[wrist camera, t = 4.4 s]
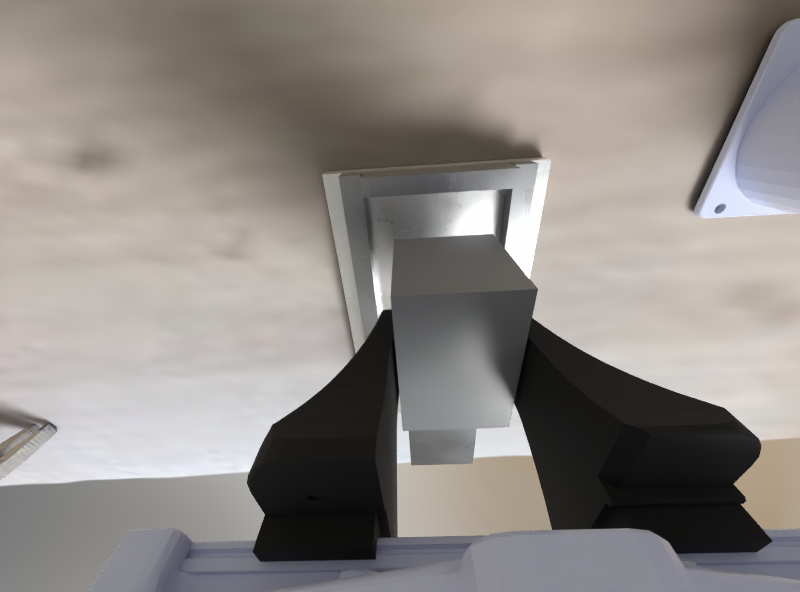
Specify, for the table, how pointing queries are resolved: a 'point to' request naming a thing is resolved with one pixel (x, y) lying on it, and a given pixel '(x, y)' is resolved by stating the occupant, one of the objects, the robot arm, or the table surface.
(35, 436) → the caliper
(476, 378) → the block
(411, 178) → the rail
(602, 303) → the table surface
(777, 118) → the robot arm
